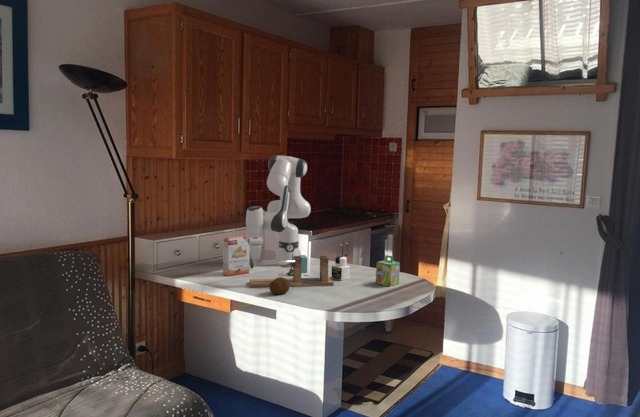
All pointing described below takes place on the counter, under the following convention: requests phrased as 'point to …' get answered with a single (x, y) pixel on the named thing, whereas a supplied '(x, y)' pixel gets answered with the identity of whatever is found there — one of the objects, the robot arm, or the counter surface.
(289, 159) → the robot arm
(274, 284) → the potato
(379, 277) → the chalk box
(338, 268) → the medicine bottle
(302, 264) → the teal holed block
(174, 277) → the counter surface
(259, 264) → the shaft
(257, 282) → the shaft stand
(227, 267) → the cracker box
